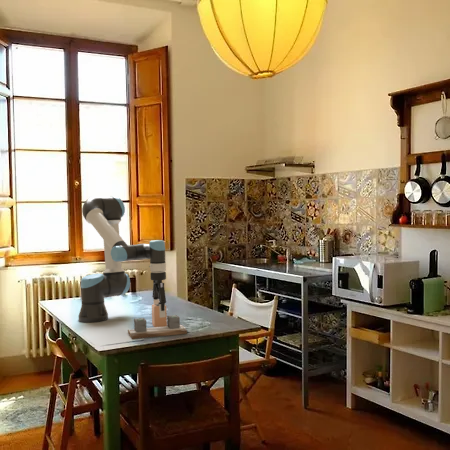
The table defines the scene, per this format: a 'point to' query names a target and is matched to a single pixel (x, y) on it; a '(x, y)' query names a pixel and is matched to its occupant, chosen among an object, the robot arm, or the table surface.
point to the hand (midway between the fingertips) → (159, 314)
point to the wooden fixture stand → (157, 328)
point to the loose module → (158, 317)
